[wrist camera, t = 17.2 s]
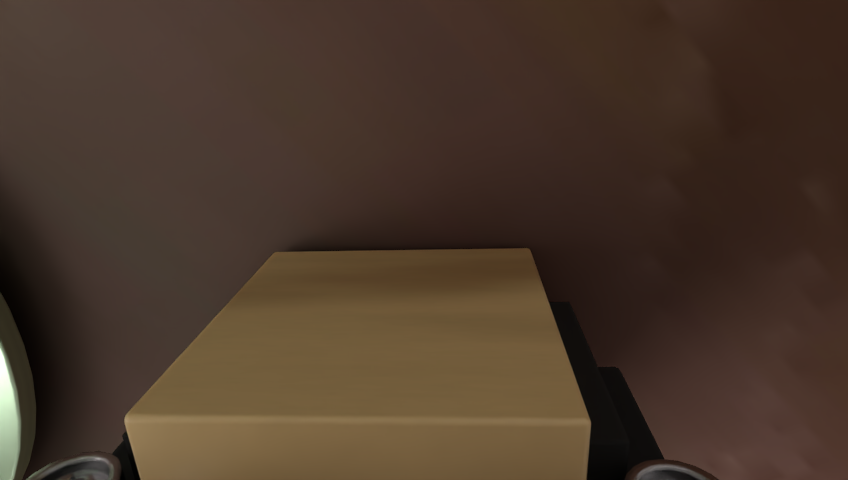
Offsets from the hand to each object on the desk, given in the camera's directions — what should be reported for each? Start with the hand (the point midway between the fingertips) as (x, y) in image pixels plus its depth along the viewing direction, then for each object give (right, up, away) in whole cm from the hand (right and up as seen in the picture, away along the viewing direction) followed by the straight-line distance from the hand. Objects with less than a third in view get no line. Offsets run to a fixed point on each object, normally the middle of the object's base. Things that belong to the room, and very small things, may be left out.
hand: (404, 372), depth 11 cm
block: (0, 0, 0) cm, 0 cm away
